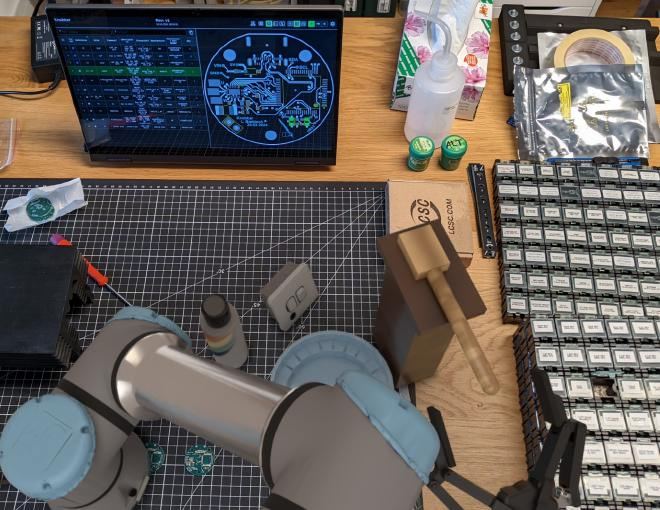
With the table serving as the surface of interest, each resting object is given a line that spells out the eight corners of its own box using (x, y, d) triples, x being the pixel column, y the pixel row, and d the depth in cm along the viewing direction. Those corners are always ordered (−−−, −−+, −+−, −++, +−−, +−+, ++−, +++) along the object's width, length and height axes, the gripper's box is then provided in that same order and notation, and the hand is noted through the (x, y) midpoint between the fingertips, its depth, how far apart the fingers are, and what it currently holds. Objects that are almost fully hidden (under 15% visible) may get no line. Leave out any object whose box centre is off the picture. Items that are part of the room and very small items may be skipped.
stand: (394, 402, 100) (420, 332, 74) (362, 327, 107) (376, 237, 81) (444, 384, 102) (487, 309, 76) (410, 311, 108) (438, 218, 82)
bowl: (293, 479, 94) (291, 472, 89) (256, 365, 103) (253, 352, 98) (409, 435, 98) (413, 426, 93) (364, 329, 107) (366, 315, 101)
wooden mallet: (475, 403, 70) (479, 398, 68) (396, 242, 80) (398, 234, 79) (509, 390, 71) (514, 385, 69) (427, 232, 81) (430, 224, 79)
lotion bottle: (231, 331, 106) (213, 278, 89) (255, 351, 104) (242, 301, 87) (207, 356, 104) (184, 306, 86) (232, 377, 102) (213, 330, 85)
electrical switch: (285, 334, 106) (278, 308, 98) (263, 317, 108) (254, 291, 100) (319, 295, 110) (315, 268, 102) (297, 280, 112) (291, 252, 104)
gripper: (429, 586, 74) (378, 418, 73) (608, 509, 78) (562, 350, 78) (452, 622, 67) (396, 435, 66) (649, 535, 71) (599, 359, 70)
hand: (486, 389), depth 72 cm, fingers open, 13 cm apart
